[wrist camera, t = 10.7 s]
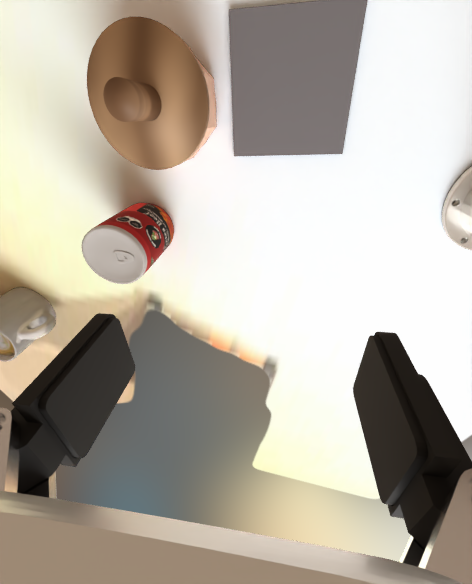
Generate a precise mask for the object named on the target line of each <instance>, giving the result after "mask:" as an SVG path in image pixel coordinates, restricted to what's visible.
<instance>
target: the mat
mask: <svg viewBox="0 0 472 584" xmlns="http://www.w3.org/2000/svg"><path fill="white" fill-rule="evenodd" d="M366 5H367V0H321V1H311V2H301V3H291V4H281V5H271V6H261V7H251V8H241V9H231V10H229V24H230V53H231V82H232V110H233V139H234V156H265V155H310V154H342V153H343V146H344V140H345V134H346V128H347V122H348V116H349V109H350V103H351V97H352V91H353V85H354V79H355V73H356V66H357V60H358V54H359V48H360V42H361V36H362V29H363V23H364V17H365V11H366Z"/></svg>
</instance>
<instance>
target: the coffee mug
mask: <svg viewBox="0 0 472 584" xmlns="http://www.w3.org/2000/svg"><path fill="white" fill-rule="evenodd" d="M55 324H56V314H55V311H54V309H53V307H52V306H51V304H50V303H49V302H48V301H47V300H46V299H45V298H44V297H43V296H41V295H40V294H38V293H37V292H35V291H33V290H30V289H27V288H22V287H17V288H13V289H11V290H10V291H8V292H7V293H5V294H4V295H2V296H0V361H11V360H13V359H14V358H16V357H17V356H18V355H19V354H20V353H21V352H22V351H23V350H24V349H26V348H27V347H28V346H29V345H30V344H31V343H32V342H33V341H34V340H36V339H38V338H40V337H42V336H44V335H46V334H47V333H49V332H50V331H51V330H52V329H53V328H54V326H55Z"/></svg>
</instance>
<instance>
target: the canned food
mask: <svg viewBox="0 0 472 584" xmlns="http://www.w3.org/2000/svg"><path fill="white" fill-rule="evenodd" d="M173 234H174V227H173V223H172V221H171V219H170V217H169V216H168V214H167V213H166V212H165V211H164V210H163V209H161V208H160V207H158V206H156V205H154V204H150V203H137V204H134V205H132V206H130V207H128V208H127V209H125V210H123V211H121V212H120V213H118V214H116V215H114V216H113V217H111V218H109V219H108V220H106V221H104V222H102V223H101V224H99V225H97V226H96V227H94V228H93V229H91V230H90V231H89V232H88V233H87V234H86V235H85V236H84V239H83V241H82V252H83V256H84V258H85V260H86V262H87V264H88V265H89V266H90V268H91V269H92V270H93V271H94V272H95V273H97V274H98V275H99V276H101V277H102V278H104V279H106V280H108V281H110V282H114V283H118V284H128V283H132V282H134V281H136V280H138V279H139V278H140V277H141V276H142V275H143V274H144V273H145V272H146V271H147V270H148V269H149V268H150V267H151V265H152V264H153V263H154V262H155V261H156V260H157V259H158V257H159V256H160V255H161V254H162V253H163V252H164V250H165V249H166V248H167V247H168V246H169V245H170V243H171V242H172V239H173Z"/></svg>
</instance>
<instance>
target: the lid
mask: <svg viewBox="0 0 472 584" xmlns="http://www.w3.org/2000/svg"><path fill="white" fill-rule="evenodd" d="M87 88H88V96H89V101H90V105H91V109H92V112H93V115H94V117H95V120H96V122H97V124H98V126H99V128H100V130H101V132H102V133H103V135H104V136H105V138H106V139H107V141H108V142H109V143H110V144H111V145H112V147H113V148H114V149H115V150H116V151H117V152H118V153H119V154H121V155H122V156H123V157H124V158H126V159H127V160H129V161H130V162H132V163H134V164H136V165H138V166H141V167H144V168H148V169H155V170H161V169H168V168H172V167H174V166H176V165H179V164H181V163H183V162H184V161H186V160H187V159H188V158H190V157H191V156H192V155H193V154H194V153H195V151H196V150H197V149H198V147H199V146H200V144H201V142H202V140H203V138H204V136H205V133H206V130H207V126H208V121H209V111H210V104H209V93H208V88H207V83H206V79H205V76H204V73H203V71H202V68H201V66H200V64H199V62H198V60H197V58H196V57H195V55H194V53H193V52H192V50H191V49H190V48H189V47H188V45H187V44H186V43H185V42H184V41H183V40H182V39H181V38H180V37H179V36H178V35H177V34H175V33H174V32H173V31H171V30H170V29H169V28H168V27H166V26H164V25H163V24H161V23H159V22H157V21H155V20H152V19H149V18H144V17H128V18H123V19H121V20H118V21H116V22H114V23H113V24H111V25H110V26H108V27H107V28H106V29H105V30H104V31H103V32H102V34H101V35H100V36H99V38H98V39H97V41H96V43H95V45H94V47H93V49H92V52H91V55H90V58H89V63H88V71H87Z"/></svg>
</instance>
